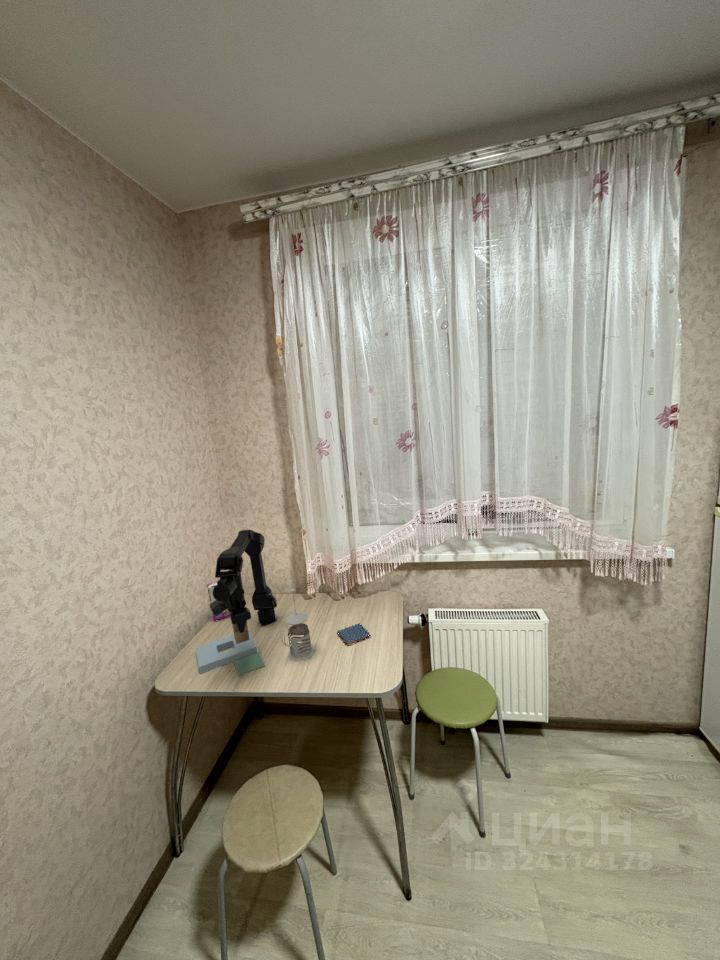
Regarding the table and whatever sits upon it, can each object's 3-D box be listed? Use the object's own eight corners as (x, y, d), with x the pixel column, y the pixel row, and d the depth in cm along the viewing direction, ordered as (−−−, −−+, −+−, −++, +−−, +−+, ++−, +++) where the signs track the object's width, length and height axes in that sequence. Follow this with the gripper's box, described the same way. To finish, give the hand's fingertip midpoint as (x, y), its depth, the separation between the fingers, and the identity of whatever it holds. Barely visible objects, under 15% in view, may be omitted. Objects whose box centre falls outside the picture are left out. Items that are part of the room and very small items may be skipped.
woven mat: (335, 635, 149) (335, 630, 148) (360, 626, 153) (359, 621, 153) (346, 648, 139) (345, 643, 139) (372, 638, 144) (371, 634, 143)
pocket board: (249, 635, 153) (249, 629, 153) (257, 652, 141) (256, 646, 141) (196, 653, 145) (195, 647, 144) (199, 673, 132) (198, 667, 132)
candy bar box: (237, 609, 176) (232, 576, 173) (239, 614, 171) (234, 580, 169) (212, 617, 171) (206, 583, 168) (213, 622, 166) (207, 587, 164)
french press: (320, 651, 138) (312, 587, 134) (294, 667, 130) (284, 600, 126) (304, 641, 145) (295, 580, 141) (278, 657, 137) (268, 592, 133)
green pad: (259, 653, 141) (258, 652, 141) (264, 666, 133) (264, 665, 133) (234, 662, 137) (233, 661, 137) (238, 676, 129) (238, 675, 129)
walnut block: (247, 633, 137) (243, 610, 135) (249, 639, 133) (245, 616, 131) (234, 638, 135) (230, 614, 133) (236, 644, 131) (232, 620, 129)
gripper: (207, 584, 136) (213, 625, 138) (211, 605, 119) (219, 650, 121) (239, 576, 140) (245, 615, 143) (248, 595, 124) (254, 639, 126)
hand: (240, 629), depth 133 cm, fingers closed on walnut block, 4 cm apart
